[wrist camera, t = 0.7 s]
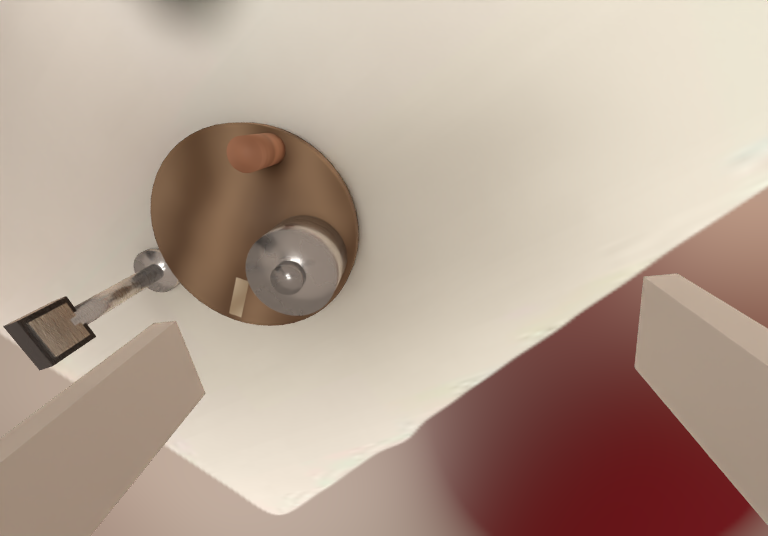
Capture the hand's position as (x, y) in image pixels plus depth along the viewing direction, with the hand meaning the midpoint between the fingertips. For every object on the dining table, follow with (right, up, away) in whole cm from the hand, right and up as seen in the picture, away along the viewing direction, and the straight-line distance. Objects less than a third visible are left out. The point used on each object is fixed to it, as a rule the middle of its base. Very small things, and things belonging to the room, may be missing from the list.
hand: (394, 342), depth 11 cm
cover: (-7, +3, +21) cm, 23 cm away
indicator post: (-23, +2, +26) cm, 34 cm away
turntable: (-11, +6, +23) cm, 27 cm away
